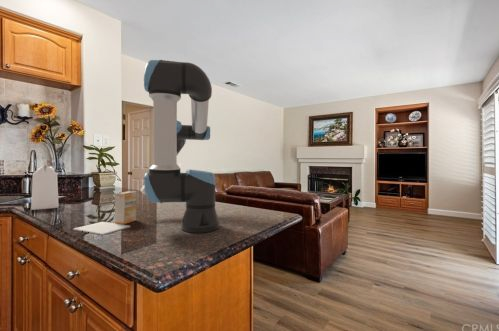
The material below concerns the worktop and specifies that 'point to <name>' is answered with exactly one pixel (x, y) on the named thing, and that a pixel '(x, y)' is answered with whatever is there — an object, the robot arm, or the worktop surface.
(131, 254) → the worktop surface
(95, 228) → the mat
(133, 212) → the supplement box
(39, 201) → the milk
